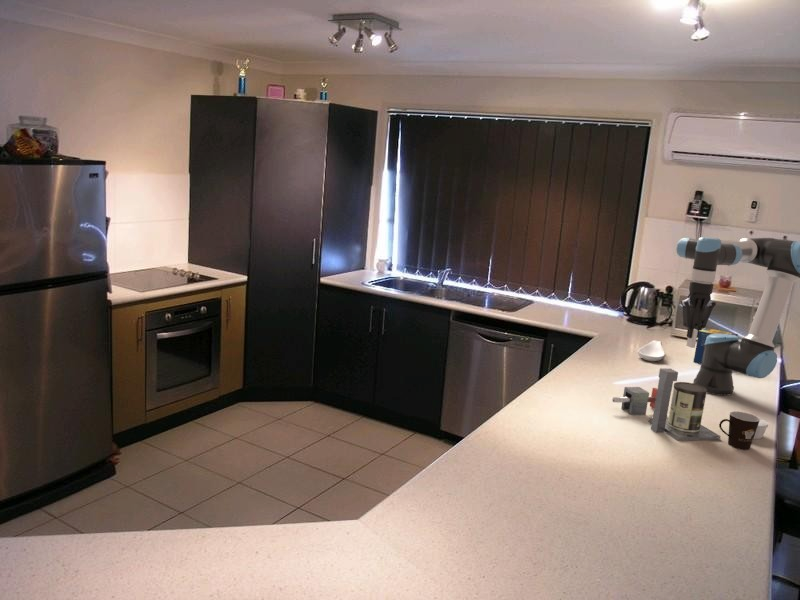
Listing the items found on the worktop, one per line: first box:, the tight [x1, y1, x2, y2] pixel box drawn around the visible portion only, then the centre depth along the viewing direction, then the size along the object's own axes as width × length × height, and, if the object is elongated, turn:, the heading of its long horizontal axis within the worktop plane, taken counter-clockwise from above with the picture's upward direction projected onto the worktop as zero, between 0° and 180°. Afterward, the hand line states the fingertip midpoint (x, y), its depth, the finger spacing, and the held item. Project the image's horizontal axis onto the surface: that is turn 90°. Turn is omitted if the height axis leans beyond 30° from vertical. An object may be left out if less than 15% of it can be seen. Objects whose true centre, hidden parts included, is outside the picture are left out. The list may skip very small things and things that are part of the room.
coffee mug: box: [718, 410, 761, 451], centre depth 213 cm, size 12×9×10 cm
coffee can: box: [668, 381, 708, 432], centre depth 221 cm, size 10×10×14 cm
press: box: [620, 367, 721, 442], centre depth 226 cm, size 20×28×21 cm
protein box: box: [692, 327, 739, 365], centre depth 310 cm, size 10×15×16 cm
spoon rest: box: [637, 339, 665, 362], centre depth 314 cm, size 24×12×7 cm, turn 150°
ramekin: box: [753, 417, 769, 440], centre depth 224 cm, size 11×11×5 cm
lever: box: [612, 387, 658, 409], centre depth 236 cm, size 19×8×7 cm, turn 104°
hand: (690, 346), depth 237 cm, fingers closed
